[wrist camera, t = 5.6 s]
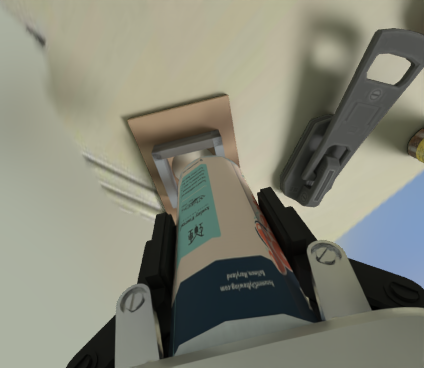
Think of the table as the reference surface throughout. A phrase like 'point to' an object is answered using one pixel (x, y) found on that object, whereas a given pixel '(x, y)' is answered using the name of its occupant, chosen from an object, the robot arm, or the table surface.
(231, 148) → the keyhole board
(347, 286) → the robot arm
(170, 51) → the table surface
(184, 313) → the beer can
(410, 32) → the zipper pull
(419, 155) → the sauce bottle
